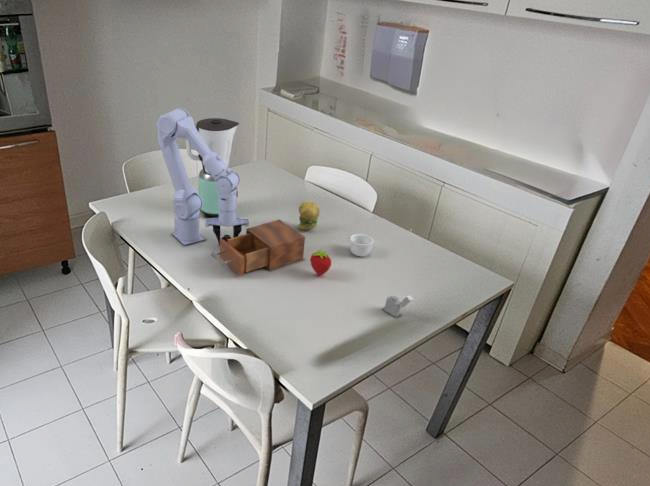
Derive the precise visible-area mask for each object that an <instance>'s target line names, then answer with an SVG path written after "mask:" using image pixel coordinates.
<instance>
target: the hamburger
mask: <svg viewBox="0 0 650 486" xmlns="http://www.w3.org/2000/svg"><path fill="white" fill-rule="evenodd" d="M320 211H321V210H320V207H319V205H317V203H315V201H314V202H312V201H304V202H302V203H301V204H300V205H299V206H298V213H299V217H298V218H299V220H298V221H299V224H297V227H298V229H300V230H304V231H305V230H306V231H307V230H308V231H309V230H312V229H314V228H316V227H317V226H318V220H319V216H320V213H321V212H320Z"/></svg>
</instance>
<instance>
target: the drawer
mask: <svg viewBox="0 0 650 486" xmlns="http://www.w3.org/2000/svg"><path fill="white" fill-rule="evenodd" d="M269 249H270V248H268V247H267V246H266V245H264V244H263V243H262V242H260V241H259V240H258V239H256V238H255V237H254V236H252V235H251V234H250V233H248V234H246V233H245V234H241V235H239V236H238V237H234V238H233V237H231V239H227V242H226V241H225V240H224V239H222V238H220V246H219V251H217V252H214V251H212V252H211V253H210V256H211V257H212V258H213V259H215V261H217V262H218V264H220V265H221V266H223V267H225V266H226V265H227V266H228V267H229V268H230V269H232V270H233V272H235V273H236V274H237V275H238V276H239V277H243V276H245V273H248V272H252V271H254V270H258V269H260V268H265V266H267V265H268V264H269Z"/></svg>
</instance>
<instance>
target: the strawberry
mask: <svg viewBox="0 0 650 486" xmlns="http://www.w3.org/2000/svg"><path fill="white" fill-rule="evenodd" d="M309 260H310V267H311V268H312V269H313V271H314V272H315V273H316V275H317V276H318V277H322V276H323V275H325V274H326V273H327V272H328V271H329V270H330V268H331V267H332V259H331V258H330V255H329V254H328V253H327V251H322V250H320V249H317V252H313V253H312V254H311V256H310V259H309Z"/></svg>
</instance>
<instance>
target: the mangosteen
mask: <svg viewBox="0 0 650 486" xmlns="http://www.w3.org/2000/svg"><path fill="white" fill-rule="evenodd" d="M231 238H232V236H231V235H230V234H224V235H223V236H222V237H221V239H224V240H225V241H226V242H227V239H231Z"/></svg>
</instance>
